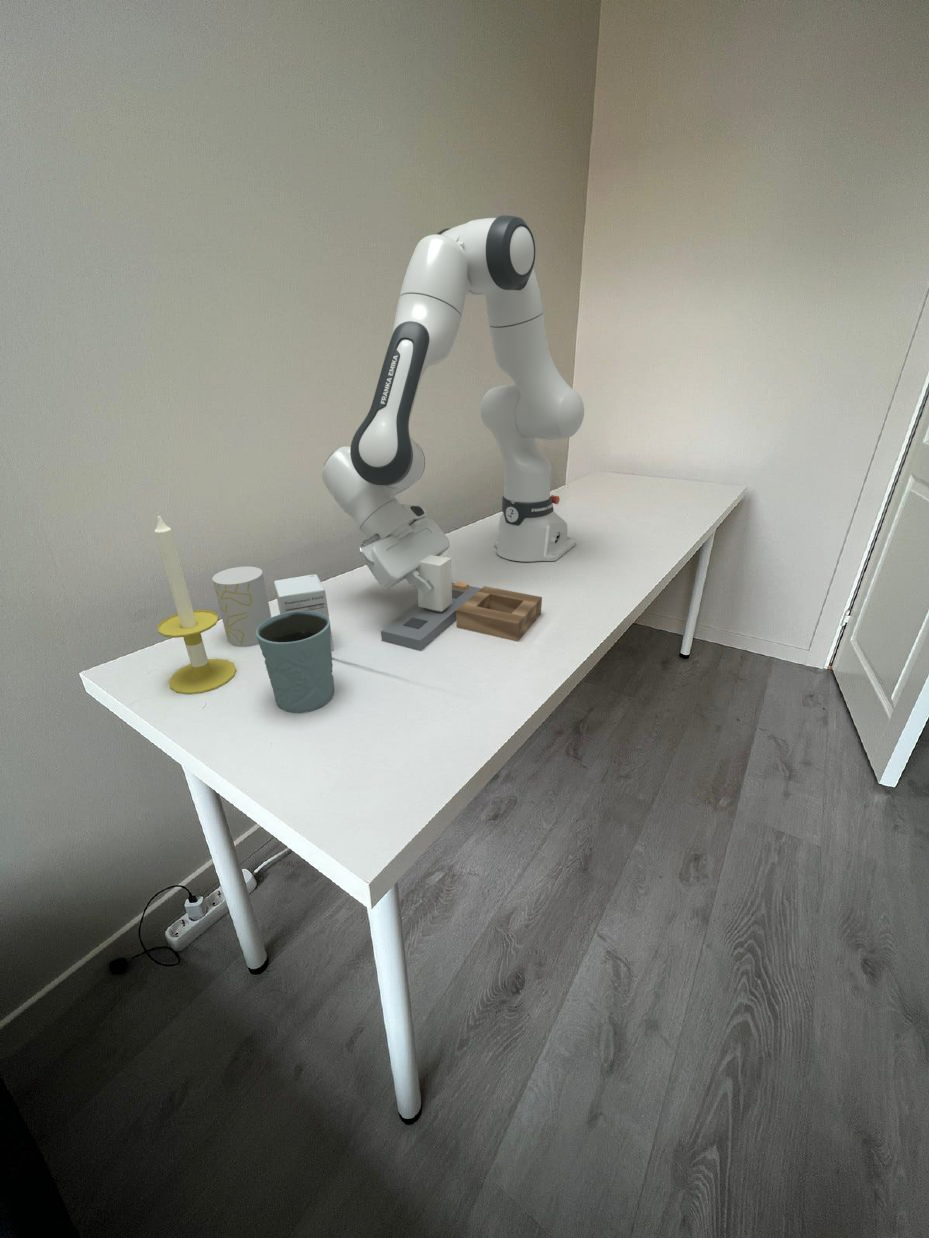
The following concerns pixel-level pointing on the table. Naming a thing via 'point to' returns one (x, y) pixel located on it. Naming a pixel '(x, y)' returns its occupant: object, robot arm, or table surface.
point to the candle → (189, 627)
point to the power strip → (426, 621)
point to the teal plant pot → (298, 659)
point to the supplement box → (302, 596)
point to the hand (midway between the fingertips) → (437, 585)
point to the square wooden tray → (499, 613)
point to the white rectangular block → (436, 583)
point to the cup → (242, 603)
